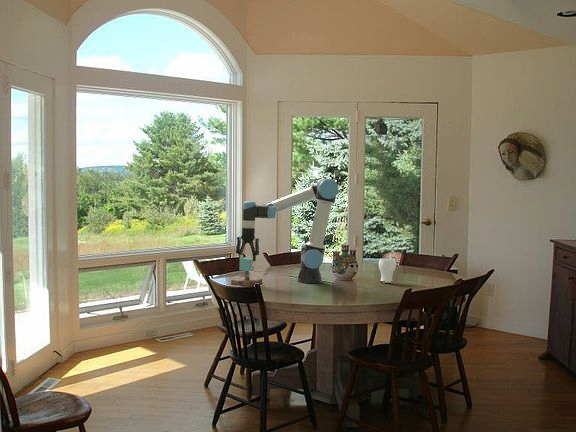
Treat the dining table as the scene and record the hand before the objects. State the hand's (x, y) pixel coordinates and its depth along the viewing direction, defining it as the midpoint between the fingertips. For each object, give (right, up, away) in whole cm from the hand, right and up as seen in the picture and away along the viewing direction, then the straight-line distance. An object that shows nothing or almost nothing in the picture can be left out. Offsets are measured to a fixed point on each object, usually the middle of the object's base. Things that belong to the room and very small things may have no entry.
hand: (246, 266), depth 371 cm
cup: (+86, -13, +21) cm, 90 cm away
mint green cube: (0, -2, 0) cm, 2 cm away
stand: (0, -11, +1) cm, 11 cm away
